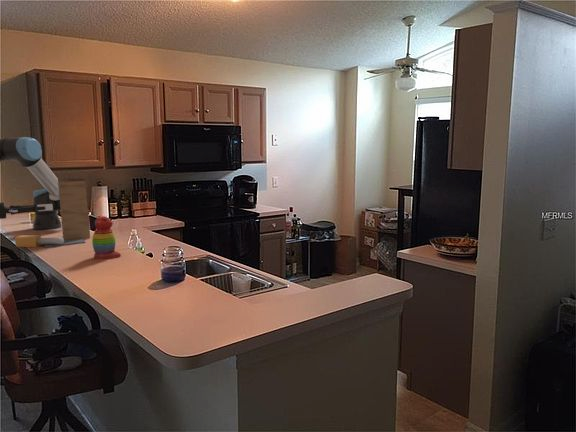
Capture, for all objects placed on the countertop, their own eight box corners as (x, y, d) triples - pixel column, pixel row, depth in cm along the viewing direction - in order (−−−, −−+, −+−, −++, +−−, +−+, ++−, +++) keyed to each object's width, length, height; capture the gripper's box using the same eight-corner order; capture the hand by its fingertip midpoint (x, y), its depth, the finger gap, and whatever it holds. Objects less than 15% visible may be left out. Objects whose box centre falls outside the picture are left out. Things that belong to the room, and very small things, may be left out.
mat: (43, 243, 235) (43, 242, 235) (82, 239, 245) (82, 238, 245) (45, 247, 227) (44, 246, 227) (85, 242, 236) (85, 241, 236)
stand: (63, 238, 248) (57, 178, 243) (87, 235, 254) (82, 177, 250) (65, 241, 241) (59, 179, 237) (90, 238, 248) (85, 178, 243)
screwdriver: (59, 237, 228) (60, 246, 228) (64, 235, 232) (65, 244, 233) (14, 237, 229) (16, 247, 230) (21, 235, 234) (22, 244, 234)
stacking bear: (122, 256, 206) (119, 216, 203) (98, 260, 199) (95, 219, 196) (112, 252, 214) (109, 213, 211) (89, 256, 207) (86, 216, 204)
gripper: (-4, 217, 226) (51, 212, 238) (-4, 221, 212) (54, 216, 224) (-5, 201, 224) (50, 197, 236) (-6, 204, 211) (53, 200, 223)
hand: (52, 206), depth 230 cm, fingers open, 2 cm apart
